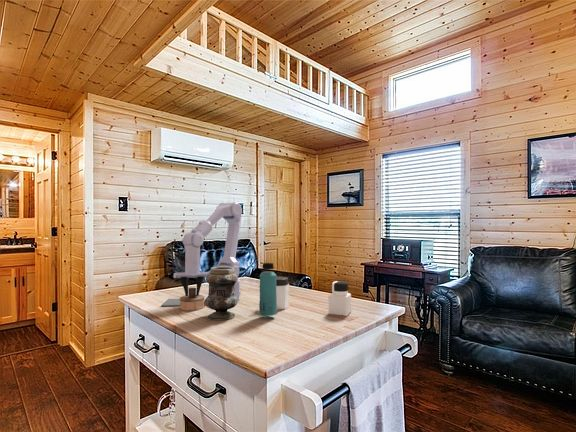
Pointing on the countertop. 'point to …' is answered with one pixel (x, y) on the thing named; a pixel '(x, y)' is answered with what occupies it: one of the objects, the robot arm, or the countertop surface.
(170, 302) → the mat
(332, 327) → the countertop surface
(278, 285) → the jar
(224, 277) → the apothecary jar
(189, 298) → the lid
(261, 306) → the beverage bottle
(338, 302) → the medicine bottle
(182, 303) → the bowl
